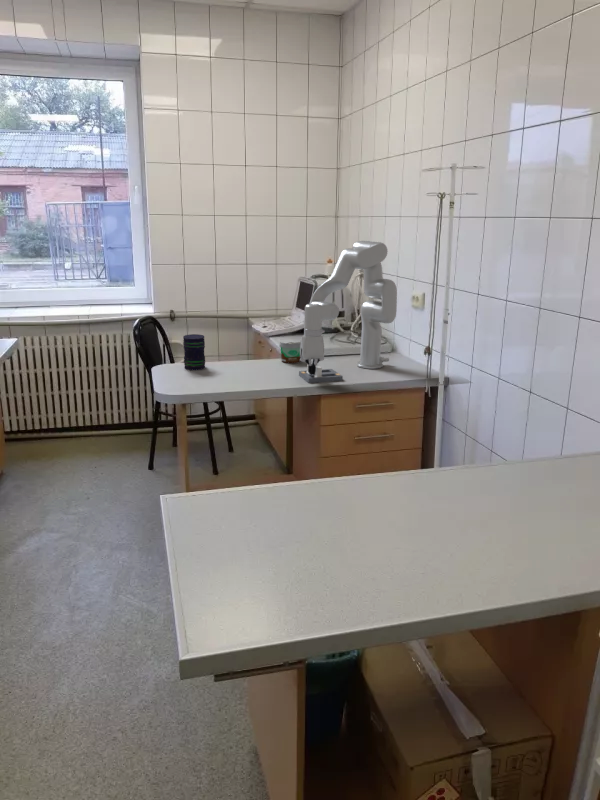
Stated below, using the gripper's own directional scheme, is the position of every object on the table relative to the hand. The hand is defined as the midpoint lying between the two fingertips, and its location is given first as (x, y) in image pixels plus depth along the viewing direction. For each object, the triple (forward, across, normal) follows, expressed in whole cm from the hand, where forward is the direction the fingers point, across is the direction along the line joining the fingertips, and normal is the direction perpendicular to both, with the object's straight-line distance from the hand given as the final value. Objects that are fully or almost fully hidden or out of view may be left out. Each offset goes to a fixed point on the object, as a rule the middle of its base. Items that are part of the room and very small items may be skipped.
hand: (311, 373), depth 273 cm
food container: (+3, -2, -33) cm, 34 cm away
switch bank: (+3, -5, -3) cm, 7 cm away
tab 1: (+2, -2, -7) cm, 7 cm away
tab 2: (+2, -3, 0) cm, 4 cm away
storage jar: (+3, +46, -35) cm, 58 cm away
